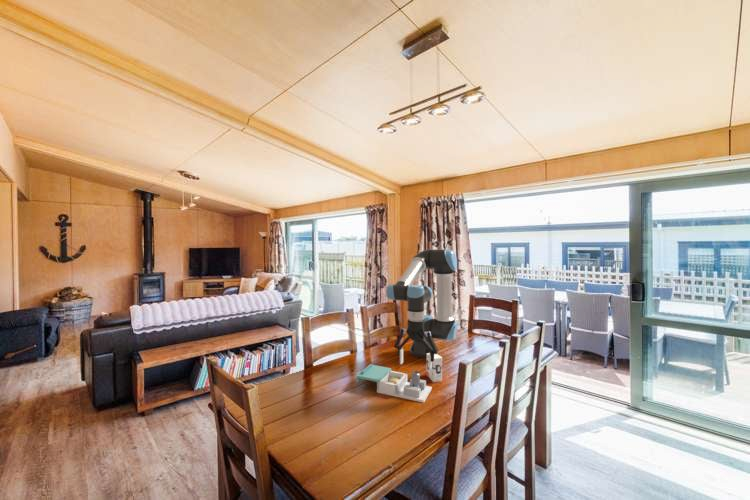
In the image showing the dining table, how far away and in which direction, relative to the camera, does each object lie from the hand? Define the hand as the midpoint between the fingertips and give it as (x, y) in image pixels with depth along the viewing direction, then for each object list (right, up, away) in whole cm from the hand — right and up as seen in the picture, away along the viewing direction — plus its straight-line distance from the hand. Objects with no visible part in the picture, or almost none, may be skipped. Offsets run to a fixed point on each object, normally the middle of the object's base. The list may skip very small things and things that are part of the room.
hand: (415, 365), depth 143 cm
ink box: (+11, -12, +16) cm, 23 cm away
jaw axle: (0, -12, 0) cm, 12 cm away
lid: (-19, -9, +8) cm, 22 cm away
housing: (-5, -12, +2) cm, 13 cm away
